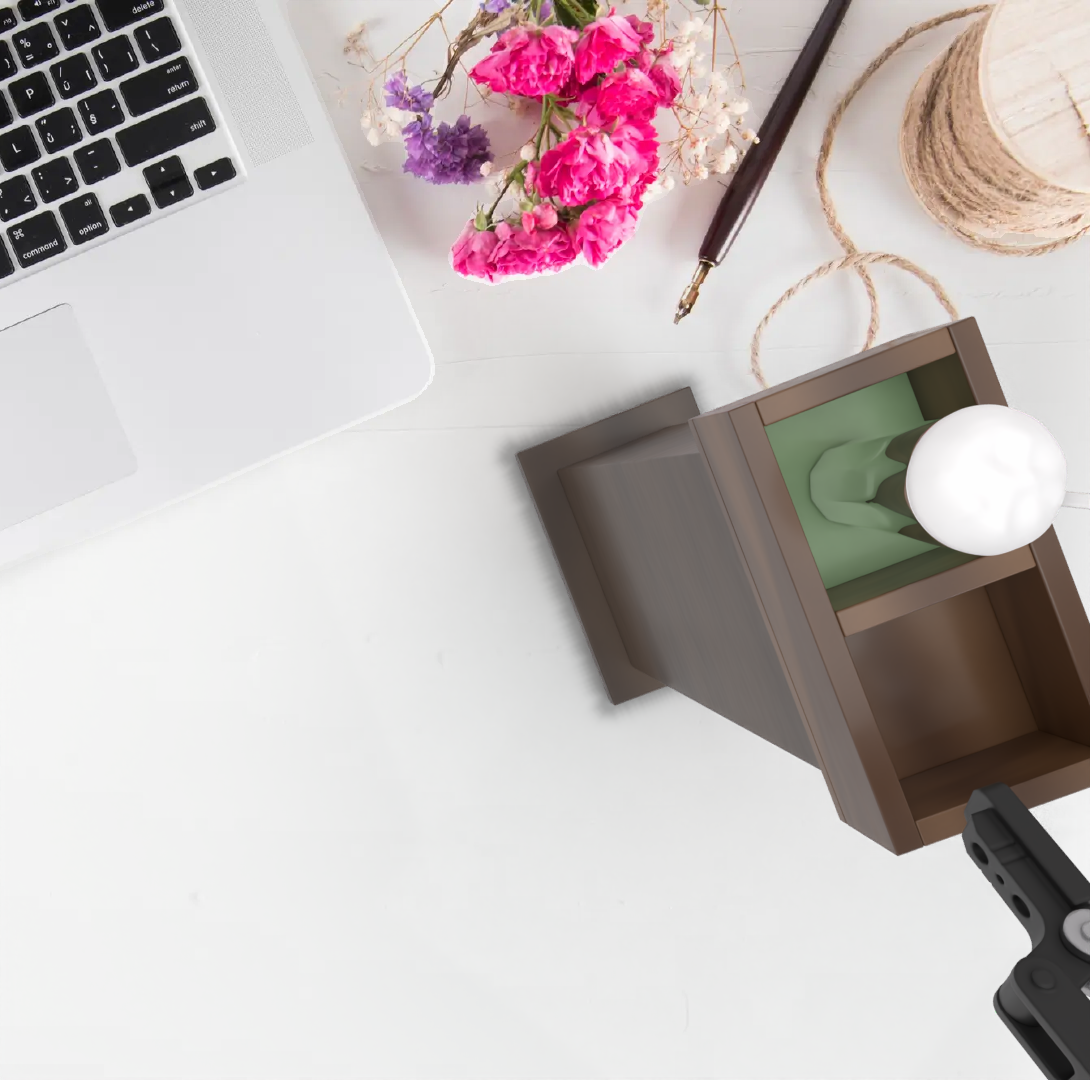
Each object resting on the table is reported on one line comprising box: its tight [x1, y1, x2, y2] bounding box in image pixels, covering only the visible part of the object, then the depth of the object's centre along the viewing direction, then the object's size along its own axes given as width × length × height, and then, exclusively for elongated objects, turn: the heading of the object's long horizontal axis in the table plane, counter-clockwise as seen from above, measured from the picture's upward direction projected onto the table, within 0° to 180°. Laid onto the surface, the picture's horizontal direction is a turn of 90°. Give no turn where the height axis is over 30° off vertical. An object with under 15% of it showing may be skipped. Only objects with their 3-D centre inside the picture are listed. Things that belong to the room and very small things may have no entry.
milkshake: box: [810, 404, 1090, 556], centre depth 34 cm, size 4×5×10 cm
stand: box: [514, 385, 821, 771], centre depth 54 cm, size 12×18×28 cm, turn 21°
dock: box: [688, 315, 1090, 857], centre depth 38 cm, size 9×17×4 cm, turn 21°
